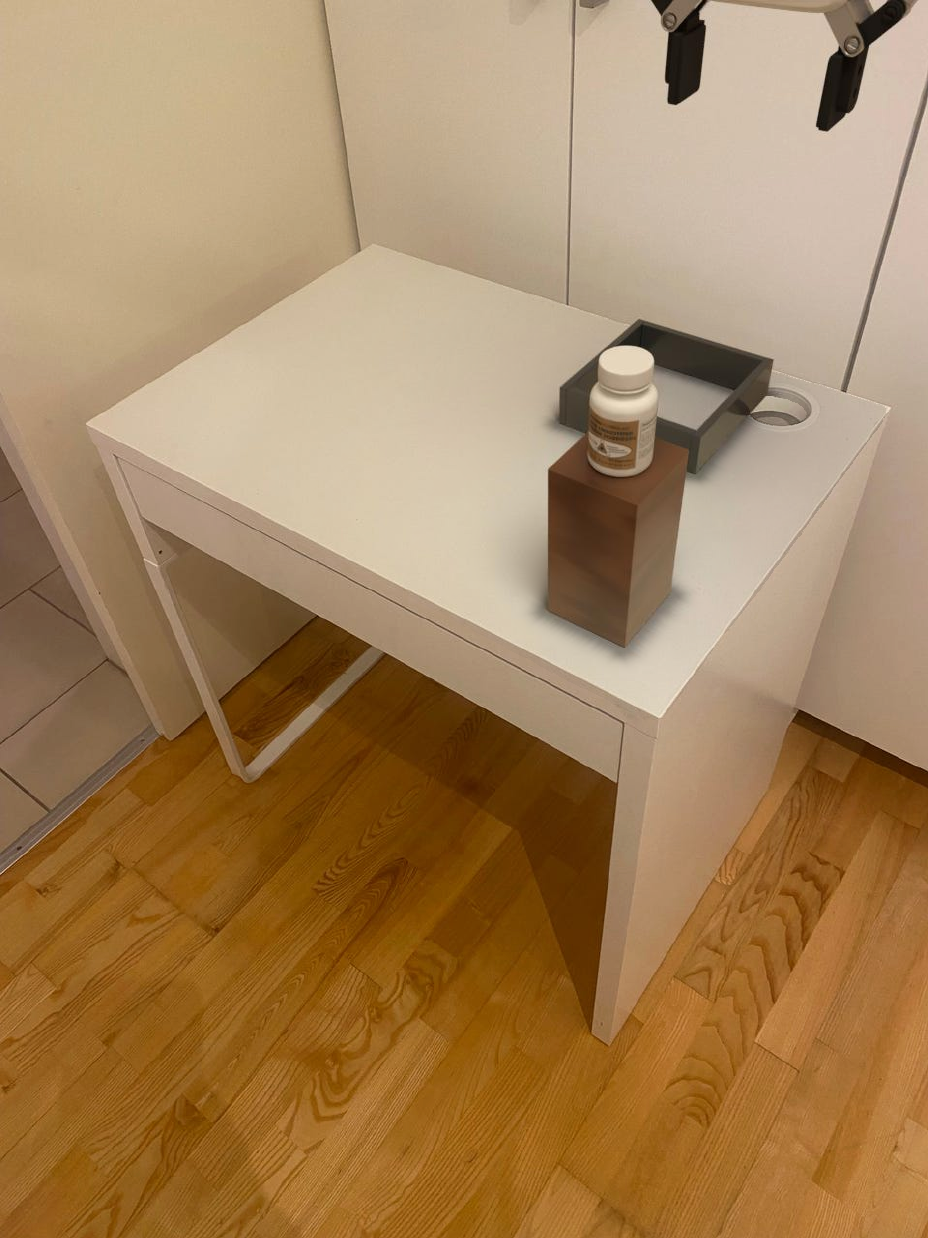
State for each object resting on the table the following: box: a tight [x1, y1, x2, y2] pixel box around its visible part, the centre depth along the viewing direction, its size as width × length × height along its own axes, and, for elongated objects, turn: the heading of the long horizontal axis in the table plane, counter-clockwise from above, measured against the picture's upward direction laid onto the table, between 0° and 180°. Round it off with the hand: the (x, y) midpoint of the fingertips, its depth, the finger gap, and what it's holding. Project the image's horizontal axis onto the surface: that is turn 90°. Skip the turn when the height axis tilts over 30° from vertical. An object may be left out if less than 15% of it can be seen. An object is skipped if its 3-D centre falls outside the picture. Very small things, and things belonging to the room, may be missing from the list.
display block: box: [547, 432, 689, 648], centre depth 70 cm, size 7×7×14 cm
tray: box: [558, 318, 774, 475], centre depth 91 cm, size 15×15×4 cm
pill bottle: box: [588, 346, 659, 477], centre depth 62 cm, size 4×4×8 cm
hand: (754, 109), depth 59 cm, fingers open, 9 cm apart
